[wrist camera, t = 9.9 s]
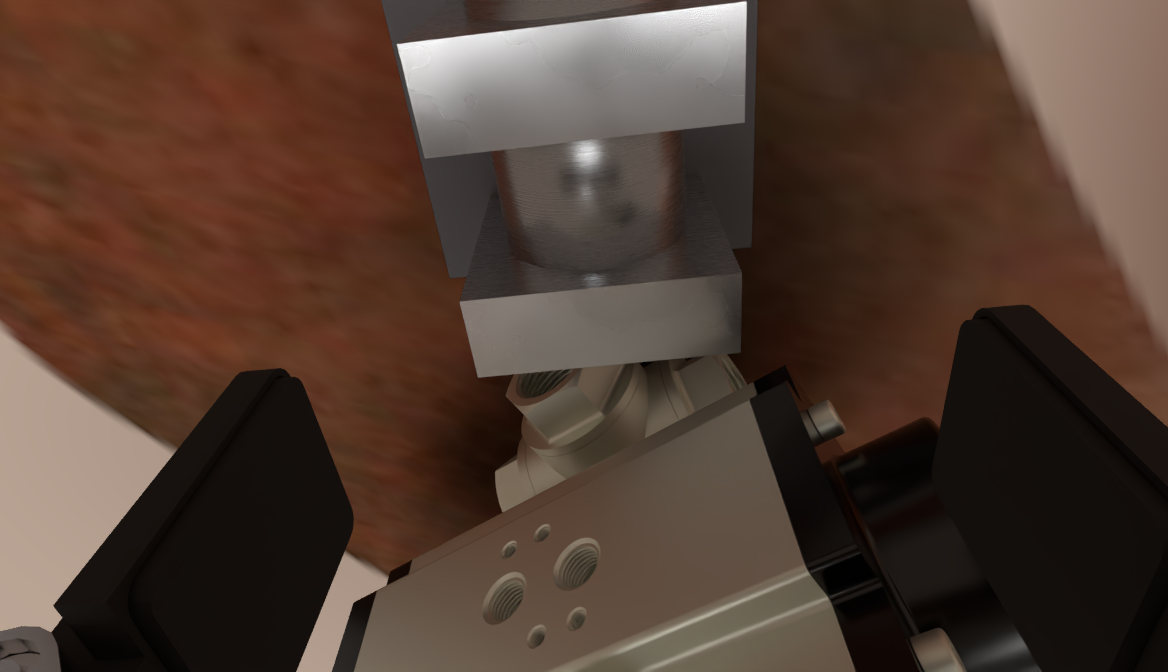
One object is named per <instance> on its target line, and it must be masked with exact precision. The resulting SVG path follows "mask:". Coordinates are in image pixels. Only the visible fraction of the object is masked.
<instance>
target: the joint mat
mask: <svg viewBox="0 0 1168 672" xmlns="http://www.w3.org/2000/svg"><path fill="white" fill-rule="evenodd" d="M381 1H382V5H383V9H384V13H385V17H386V22H387V26H388V30H389V34H390V38H391V42H392V46H393V50H394V54H395V58H396V62H397V66H398V70H399V74H400V78H401V82H402V86H403V90H404V94H405V98H406V102H407V106H408V111H409V115H410V119H411V123H412V127H413V131H414V135H415V139H416V143H417V147H418V151H419V155H420V159H421V163H422V167H423V171H424V175H425V179H426V183H427V187H428V191H429V195H430V200H431V204H432V208H433V212H434V216H435V220H436V224H437V228H438V232H439V236H440V240H441V244H442V248H443V252H444V256H445V260H446V264H447V268H448V272H449V276H450V278H458V277H467V274H468V271H469V267H470V264H471V260H472V257H473V253H474V250H475V246H476V243H477V239H478V236H479V232H480V229H481V225H482V222H483V218H484V215H485V212H486V208H487V205H488V201H489V198H490V196H499V195H498V189H497V184H496V179H495V174H494V168H493V163H492V158H491V152H490V151H488V152H479V153H471V154H462V155H453V156H444V157H435V158H426V159H425V158H424V154H423V149H422V145H421V141H420V137H419V133H418V129H417V125H416V121H415V117H414V112H413V108H412V104H411V100H410V96H409V92H408V88H407V84H406V80H405V76H404V71H403V67H402V63H401V59H400V55H399V51H398V47H397V44H398V43H399V42H400V41H401V40H402V39H404V38H405V37H406V36H407V35H408V34H410V33H411V32H412V31H413V30H414V29H415V28H417V27H418V26H419V25H420V24H421V23H423V22H424V21H425V20H426V19H427V18H428V17H430V16H431V15H432V14H433V13H434V12H436V11H437V10H438V9H439V8H440V7H441V6H443V5H444V4H445V3H446V2H447V1H449V0H381ZM745 1H747V12H746V72H745V123H736V124H727V125H718V126H710V127H701V128H692V129H683V135H684V166H685V175H691V174H700V176H701V179H702V181H703V183H704V186H705V188H706V190H707V193H708V195H709V197H710V199H711V202H712V204H713V206H714V209H715V211H716V213H717V216H718V218H719V220H720V223H721V225H722V227H723V230H724V232H725V234H726V237H727V239H728V241H729V244H730V246H731V248H732V249H739V248H748V247H752V212H753V171H754V131H755V90H756V49H757V8H758V0H745Z"/></svg>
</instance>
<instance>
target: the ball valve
mask: <svg viewBox="0 0 1168 672" xmlns="http://www.w3.org/2000/svg"><path fill="white" fill-rule="evenodd" d="M506 397H507V398H508V399H509V400H510V401H511V402H512V403H513V404H514V405H515V406H516V407H517V408H518V409H519V410H520V411H521V412H522V414H523V415H524V416H523V419H522V426H521V431H522V436H523V437H522V438H521V440H520V442H519V445H518V450H517V455H515V456H514V457H513V458H511V459H510V460H508V461H507V462H506V463H504V464H503V465H502V466H501V467H499V468H498V469H497V470H496V471H495V483H496V491H497V496H498V500H499V504H500V507H501V510H502V512H503V513H501V514H499V515H497V516H495V517H493V518H491V519H489V520H488V521H486V522H484V523H482V524H480V525H478V526H476V527H474V528H472V529H470V530H468V531H466V532H465V533H463V534H461V535H459V536H457V537H455V538H453V539H451V540H449V541H447V542H445V543H443V544H442V545H440V546H438V547H436V548H434V549H432V550H430V551H428V552H426V553H424V554H422V555H420V556H419V557H417V558H415V559H413V560H411V561H409V562H407V563H405V564H403V565H401V566H399V567H397V568H396V569H394V570H392V571H391V572H390V575H389V578H388V582H387V586H385V587H383V588H381V589H379V590H377V591H375V592H373V593H371V594H370V595H367V596H366V597H364V598H362V599H360V600H358V601H356V602H354V603H353V606H352V610H351V613H350V616H349V619H348V622H347V625H346V629H345V632H344V635H343V639H342V641H341V645H340V648H339V651H338V654H337V657H336V660H335V664H334V667H333V670H332V672H1041V670H1040V668H1039V666H1038V665H1037V663H1036V661H1035V660H1034V658H1033V656H1032V655H1031V653H1030V651H1029V650H1028V648H1027V646H1026V645H1025V643H1024V641H1023V639H1022V638H1021V636H1020V634H1019V633H1018V631H1017V629H1016V628H1015V626H1014V624H1013V623H1012V621H1011V619H1010V617H1009V616H1008V614H1007V612H1006V611H1005V609H1004V607H1003V606H1002V604H1001V602H1000V601H999V599H998V597H997V595H996V594H995V592H994V590H993V589H992V587H991V585H990V584H989V582H988V580H987V579H986V577H985V575H984V573H983V572H982V570H981V568H980V567H979V565H978V563H977V562H976V560H975V558H974V557H973V555H972V553H971V552H970V550H969V548H968V546H967V545H966V543H965V541H964V540H963V538H962V536H961V535H960V533H959V531H958V530H957V528H956V526H955V524H954V523H953V521H952V519H951V518H950V516H949V514H948V513H947V511H946V509H945V508H944V506H943V504H942V502H941V501H940V499H939V497H938V496H937V494H936V491H935V489H934V486H933V481H932V465H933V460H934V455H935V450H936V445H937V440H938V435H939V430H940V428H939V427H938V426H937V424H936V423H935V422H934V421H933V420H932V419H930V418H928V417H923V418H920V419H918V420H916V421H914V422H912V423H909V424H907V425H905V426H903V427H901V428H899V429H897V430H894V431H892V432H890V433H888V434H886V435H884V436H881V437H879V438H877V439H875V440H873V441H871V442H868V443H866V444H864V445H862V446H860V447H858V448H856V449H853V450H851V451H849V452H847V453H845V452H844V451H843V449H842V448H841V446H840V445H839V443H838V442H837V440H836V439H835V437H837V436H840V435H842V434H844V433H845V432H846V428H845V426H844V424H843V422H842V420H841V418H840V416H839V415H838V413H837V411H836V410H835V408H834V406H833V405H832V403H831V402H830V401H829V400H824V401H822V402H820V403H818V404H816V405H814V406H813V404H812V403H811V401H810V400H809V398H808V397H807V395H806V394H805V392H804V391H803V389H802V388H801V386H800V385H799V383H798V382H797V380H796V379H795V377H794V376H793V374H792V373H791V371H790V370H789V368H788V367H787V366H786V365H785V366H783V367H781V368H779V369H777V370H775V371H773V372H771V373H769V374H767V375H766V376H764V377H762V378H760V379H758V380H756V381H754V382H752V383H750V384H748V385H747V383H746V382H745V380H744V378H743V377H742V375H741V373H740V372H739V370H738V369H737V367H736V366H735V364H734V363H733V362H732V360H731V359H730V358H729V356H728V355H727V354H722V355H711V356H701V357H693V358H692V359H690V360H688V361H686V360H685V359H684V358H680V359H669V360H659V361H655V362H653V363H651V364H649V365H647V366H646V367H644V368H643V367H642V366H641V365H640V363H639V362H638V363H627V364H617V365H606V366H596V367H585V368H574V369H564V370H553V371H543V372H532V373H522V374H514V376H513V378H512V380H511V382H510V385H509V387H508V390H507V393H506Z"/></svg>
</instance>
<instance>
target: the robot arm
mask: <svg viewBox="0 0 1168 672" xmlns="http://www.w3.org/2000/svg"><path fill="white" fill-rule="evenodd" d="M932 481H933V486H934V489H935V491H936V494H937V496H938V497H939V499H940V501H941V502H942V504H943V506H944V508H945V509H946V511H947V513H948V514H949V516H950V518H951V519H952V521H953V523H954V524H955V526H956V528H957V530H958V531H959V533H960V535H961V536H962V538H963V540H964V541H965V543H966V545H967V546H968V548H969V550H970V552H971V553H972V555H973V557H974V558H975V560H976V562H977V563H978V565H979V567H980V568H981V570H982V572H983V573H984V575H985V577H986V579H987V580H988V582H989V584H990V585H991V587H992V589H993V590H994V592H995V594H996V595H997V597H998V599H999V601H1000V602H1001V604H1002V606H1003V607H1004V609H1005V611H1006V612H1007V614H1008V616H1009V617H1010V619H1011V621H1012V623H1013V624H1014V626H1015V628H1016V629H1017V631H1018V633H1019V634H1020V636H1021V638H1022V639H1023V641H1024V643H1025V645H1026V646H1027V648H1028V650H1029V651H1030V653H1031V655H1032V656H1033V658H1034V660H1035V661H1036V663H1037V665H1038V666H1039V668H1040V670H1041V672H1168V427H1167V426H1166V425H1164V424H1163V423H1162V422H1161V421H1160V420H1159V419H1158V418H1157V417H1155V416H1154V415H1153V414H1152V413H1151V412H1150V411H1149V410H1148V409H1146V408H1145V407H1144V406H1143V405H1142V404H1141V403H1140V402H1139V401H1137V400H1136V399H1135V398H1134V397H1133V396H1132V395H1131V394H1130V393H1128V392H1127V391H1126V390H1125V389H1124V388H1123V387H1122V386H1121V385H1119V384H1118V383H1117V382H1116V381H1115V380H1114V379H1113V378H1112V377H1110V376H1109V375H1108V374H1107V373H1106V372H1105V371H1104V370H1103V369H1101V368H1100V367H1099V366H1098V365H1097V364H1096V363H1095V362H1094V361H1092V360H1091V359H1090V358H1089V357H1088V356H1087V355H1086V354H1085V353H1083V352H1082V351H1081V350H1080V349H1079V348H1078V347H1077V346H1075V345H1074V344H1073V343H1072V342H1071V341H1070V340H1069V339H1068V338H1066V337H1065V336H1064V335H1063V334H1062V333H1061V332H1060V331H1059V330H1057V329H1056V328H1055V327H1054V326H1053V325H1052V324H1051V323H1050V322H1048V321H1047V320H1046V319H1045V318H1044V317H1043V316H1042V315H1041V314H1039V313H1038V312H1037V311H1036V310H1035V309H1034V308H1032V307H1030V306H1029V305H1014V306H1002V307H991V308H981V309H979V310H978V311H977V312H976V313H975V315H974V316H973V319H972V320H966V321H964V322H963V324H962V325H961V327H960V331H959V335H958V340H957V345H956V350H955V355H954V360H953V365H952V370H951V375H950V380H949V385H948V390H947V395H946V400H945V405H944V410H943V415H942V420H941V425H940V430H939V435H938V440H937V445H936V450H935V455H934V460H933V465H932ZM353 521H354V518H353V511H352V507H351V505H350V502H349V500H348V497H347V495H346V492H345V490H344V487H343V484H342V482H341V479H340V477H339V474H338V472H337V469H336V467H335V464H334V462H333V459H332V457H331V454H330V452H329V449H328V446H327V444H326V441H325V439H324V436H323V434H322V431H321V429H320V426H319V424H318V421H317V419H316V416H315V414H314V411H313V408H312V406H311V403H310V401H309V398H308V396H307V393H306V391H305V388H304V386H303V384H302V382H301V381H300V380H299V379H298V378H296V377H291V376H290V375H289V373H288V372H287V371H286V370H284V369H281V368H278V369H266V370H255V371H245V372H240V373H239V374H238V375H237V376H236V377H235V378H234V379H233V380H232V382H231V383H230V384H229V386H228V387H227V388H226V389H225V391H224V392H223V393H222V394H221V396H220V397H219V398H218V399H217V401H216V402H215V403H214V404H213V406H212V407H211V408H210V409H209V411H208V412H207V413H206V414H205V416H204V417H203V418H202V419H201V421H200V422H199V423H198V424H197V426H196V427H195V428H194V429H193V431H192V432H191V433H190V434H189V436H188V437H187V438H186V440H185V441H184V442H183V443H182V445H181V446H180V447H179V448H178V450H177V451H176V452H175V453H174V455H173V456H172V457H171V458H170V460H169V461H168V462H167V463H166V465H165V466H164V467H163V468H162V470H161V471H160V472H159V473H158V475H157V476H156V477H155V479H154V480H153V481H152V482H151V483H150V485H149V486H148V487H147V489H146V490H145V491H144V492H143V494H142V495H141V496H140V497H139V499H138V500H137V501H136V502H135V504H134V505H133V506H132V507H131V509H130V510H129V511H128V512H127V514H126V515H125V516H124V517H123V519H122V520H121V521H120V522H119V524H118V525H117V526H116V527H115V529H114V530H113V531H112V533H111V534H110V535H109V536H108V537H107V539H106V540H105V541H104V543H103V544H102V545H101V546H100V548H99V549H98V550H97V551H96V553H95V554H94V555H93V556H92V558H91V559H90V560H89V562H88V563H87V564H86V565H85V566H84V568H83V569H82V570H81V571H80V573H79V574H78V575H77V576H76V578H75V579H74V580H73V581H72V583H71V584H70V585H69V587H68V588H67V589H66V590H65V592H64V593H63V594H62V595H61V597H60V598H59V599H58V601H57V602H56V603H55V604H54V607H55V609H56V610H57V611H58V613H59V614H60V615H61V616H62V619H61V621H60V622H59V624H58V625H57V626H56V627H55V628H54V630H53V631H52V632H49V631H47V630H45V629H43V628H41V627H27V626H23V627H22V626H21V627H17V628H13V629H8V630H5V631H0V672H296V671H297V668H298V666H299V663H300V661H301V658H302V656H303V653H304V651H305V648H306V646H307V643H308V641H309V638H310V636H311V633H312V631H313V628H314V626H315V624H316V621H317V619H318V616H319V614H320V611H321V609H322V606H323V604H324V601H325V599H326V596H327V594H328V591H329V589H330V586H331V584H332V581H333V578H334V576H335V574H336V571H337V569H338V566H339V564H340V561H341V559H342V556H343V554H344V551H345V549H346V546H347V544H348V542H349V539H350V537H351V534H352V530H353Z"/></svg>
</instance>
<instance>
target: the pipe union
mask: <svg viewBox="0 0 1168 672" xmlns="http://www.w3.org/2000/svg"><path fill="white" fill-rule="evenodd" d="M746 12H747V1H745V0H449V1H447V2H446V3H445V4H444V5H443V6H441V7H440V8H439V9H438V10H437V11H436V12H434V13H433V14H432V15H431V16H430V17H428V18H427V19H426V20H425V21H424V22H423V23H421V24H420V25H419V26H418V27H417V28H415V29H414V30H413V31H412V32H411V33H410V34H408V35H407V36H406V37H405V38H404V39H402V40H401V41H400V42H399V43H398V44H397V47H398V51H399V55H400V59H401V63H402V67H403V71H404V76H405V80H406V84H407V88H408V92H409V96H410V100H411V104H412V108H413V112H414V117H415V121H416V125H417V129H418V133H419V137H420V141H421V145H422V149H423V154H424V158H425V159H426V158H435V157H444V156H453V155H462V154H471V153H479V152H488V151H490V152H491V158H492V163H493V168H494V174H495V179H496V184H497V189H498V195H499V196H490V198H489V201H488V205H487V208H486V212H485V215H484V218H483V222H482V225H481V229H480V232H479V236H478V239H477V243H476V246H475V250H474V253H473V257H472V260H471V264H470V267H469V271H468V274H467V278H466V281H465V284H464V288H463V291H462V295H461V298H460V306H461V310H462V314H463V318H464V322H465V326H466V330H467V334H468V338H469V343H470V347H471V351H472V355H473V359H474V363H475V367H476V371H477V375H478V378H480V377H490V376H501V375H511V374H522V373H532V372H543V371H553V370H564V369H574V368H585V367H596V366H606V365H617V364H627V363H638V362H648V361H659V360H669V359H680V358H690V357H701V356H711V355H722V354H732V353H741V312H742V272H741V269H740V267H739V265H738V262H737V260H736V258H735V255H734V253H733V251H732V248H731V246H730V244H729V241H728V239H727V237H726V234H725V232H724V230H723V227H722V225H721V223H720V220H719V218H718V216H717V213H716V211H715V209H714V206H713V204H712V202H711V199H710V197H709V195H708V193H707V190H706V188H705V186H704V183H703V181H702V179H701V176H700V174H691V175H685V166H684V135H683V129H692V128H701V127H710V126H718V125H727V124H736V123H745V72H746Z"/></svg>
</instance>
